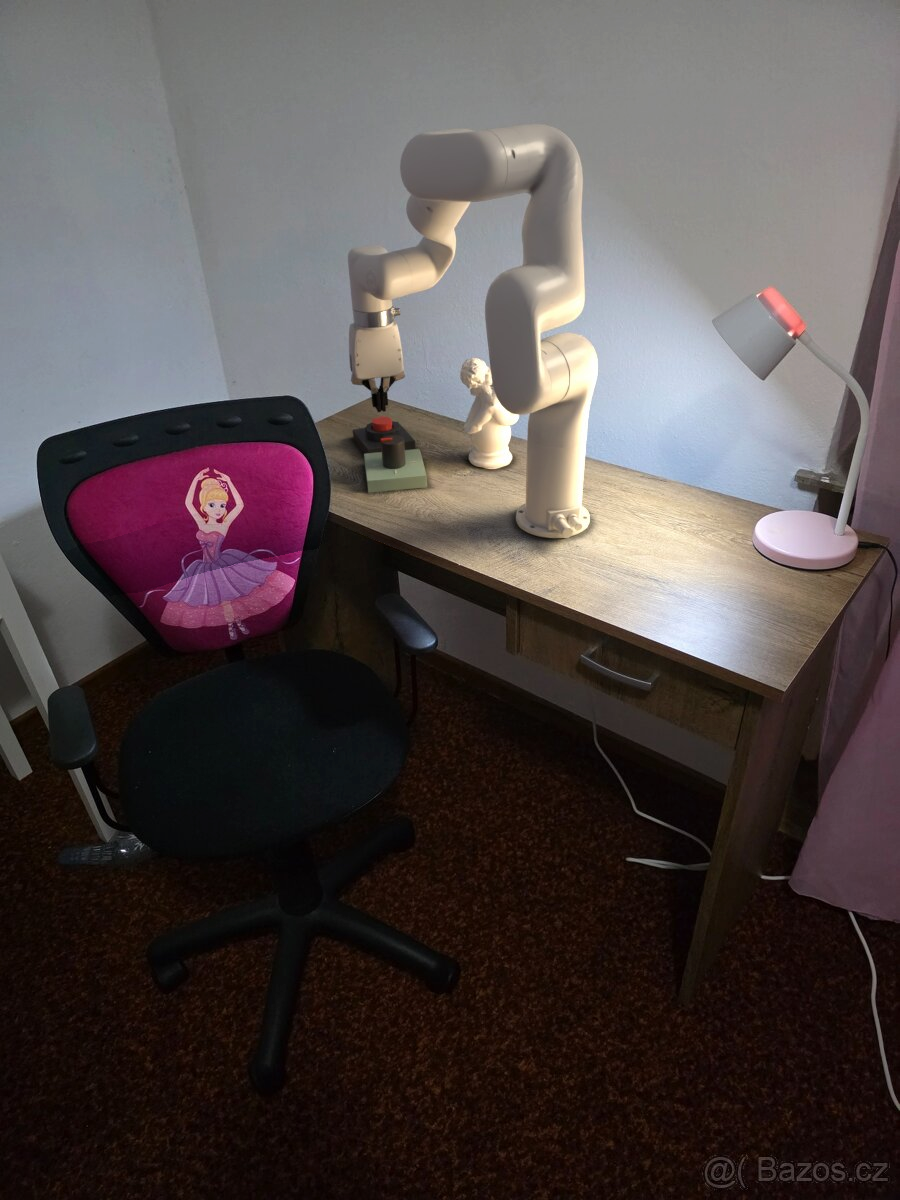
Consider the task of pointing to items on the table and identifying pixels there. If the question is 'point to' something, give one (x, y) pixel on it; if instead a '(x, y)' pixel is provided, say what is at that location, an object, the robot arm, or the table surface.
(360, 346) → the robot arm
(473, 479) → the table surface
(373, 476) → the console
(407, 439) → the button box
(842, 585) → the table surface
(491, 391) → the cherub figurine
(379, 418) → the button
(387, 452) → the dial
